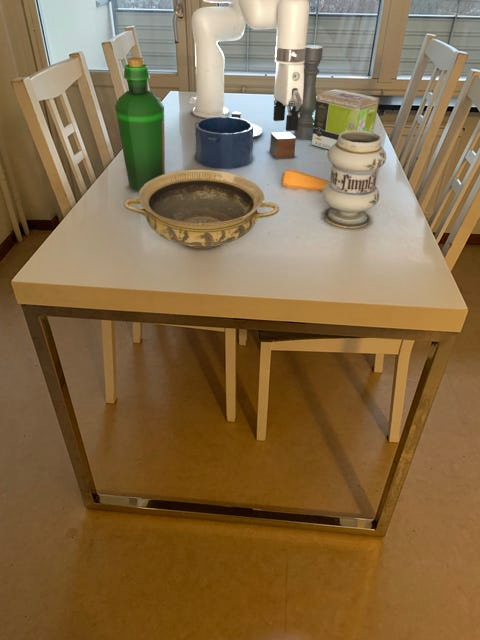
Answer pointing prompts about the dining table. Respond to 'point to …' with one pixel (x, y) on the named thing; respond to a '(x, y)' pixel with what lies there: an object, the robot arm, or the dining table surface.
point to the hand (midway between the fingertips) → (284, 125)
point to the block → (282, 145)
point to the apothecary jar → (353, 178)
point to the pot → (224, 142)
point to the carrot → (302, 180)
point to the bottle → (141, 126)
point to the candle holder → (309, 92)
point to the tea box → (342, 115)
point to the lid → (257, 130)
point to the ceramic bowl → (201, 206)
